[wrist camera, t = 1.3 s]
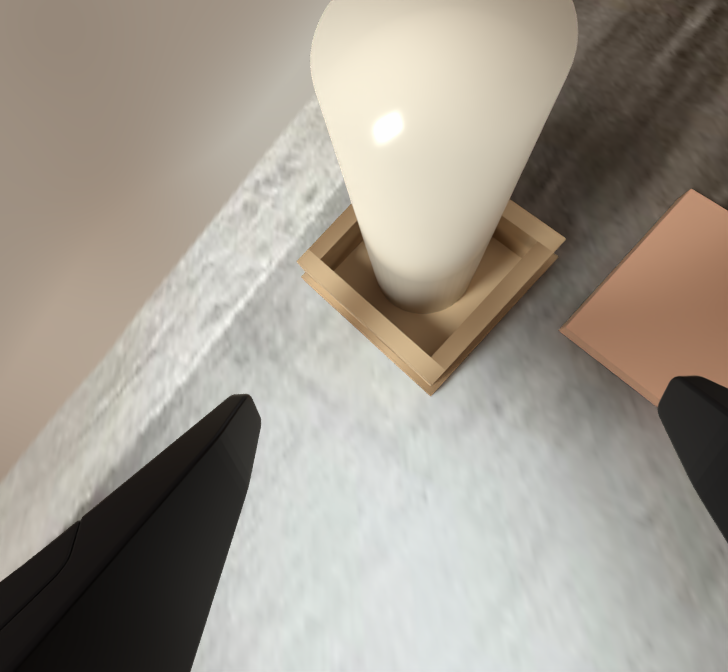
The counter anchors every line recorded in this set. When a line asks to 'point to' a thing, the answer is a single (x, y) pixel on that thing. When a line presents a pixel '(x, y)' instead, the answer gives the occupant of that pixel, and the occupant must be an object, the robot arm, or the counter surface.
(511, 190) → the jug
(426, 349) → the holder
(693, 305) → the tile
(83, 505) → the counter surface
